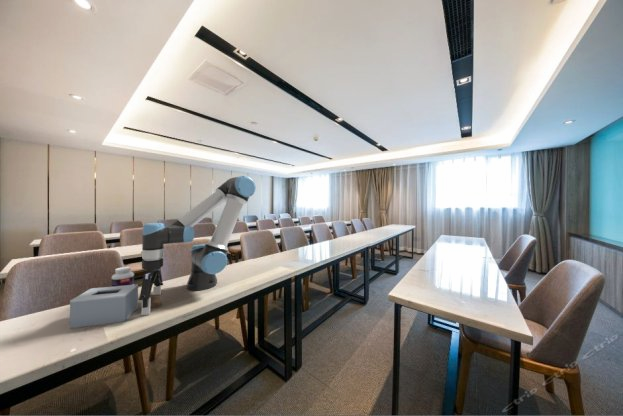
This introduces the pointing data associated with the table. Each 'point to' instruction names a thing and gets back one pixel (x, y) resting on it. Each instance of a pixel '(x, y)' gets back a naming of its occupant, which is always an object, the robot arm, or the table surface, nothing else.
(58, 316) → the table surface
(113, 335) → the table surface
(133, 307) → the box
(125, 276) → the pill bottle
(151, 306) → the token
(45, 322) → the table surface
